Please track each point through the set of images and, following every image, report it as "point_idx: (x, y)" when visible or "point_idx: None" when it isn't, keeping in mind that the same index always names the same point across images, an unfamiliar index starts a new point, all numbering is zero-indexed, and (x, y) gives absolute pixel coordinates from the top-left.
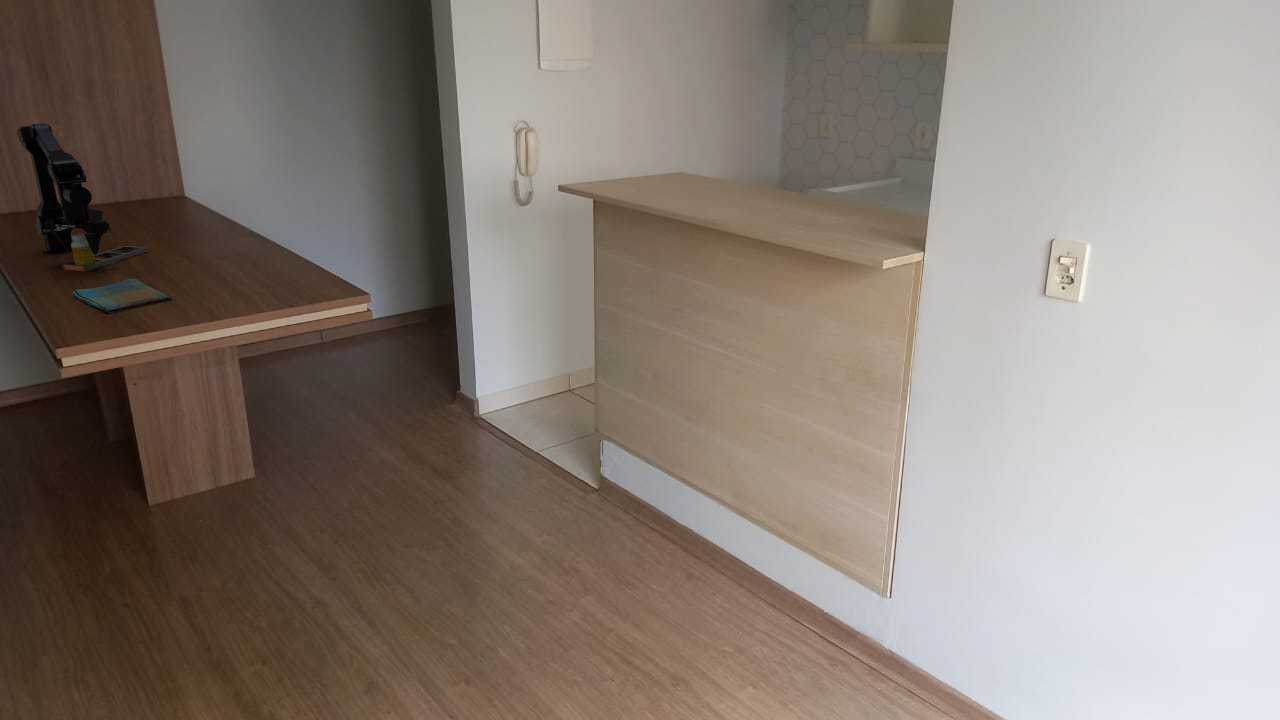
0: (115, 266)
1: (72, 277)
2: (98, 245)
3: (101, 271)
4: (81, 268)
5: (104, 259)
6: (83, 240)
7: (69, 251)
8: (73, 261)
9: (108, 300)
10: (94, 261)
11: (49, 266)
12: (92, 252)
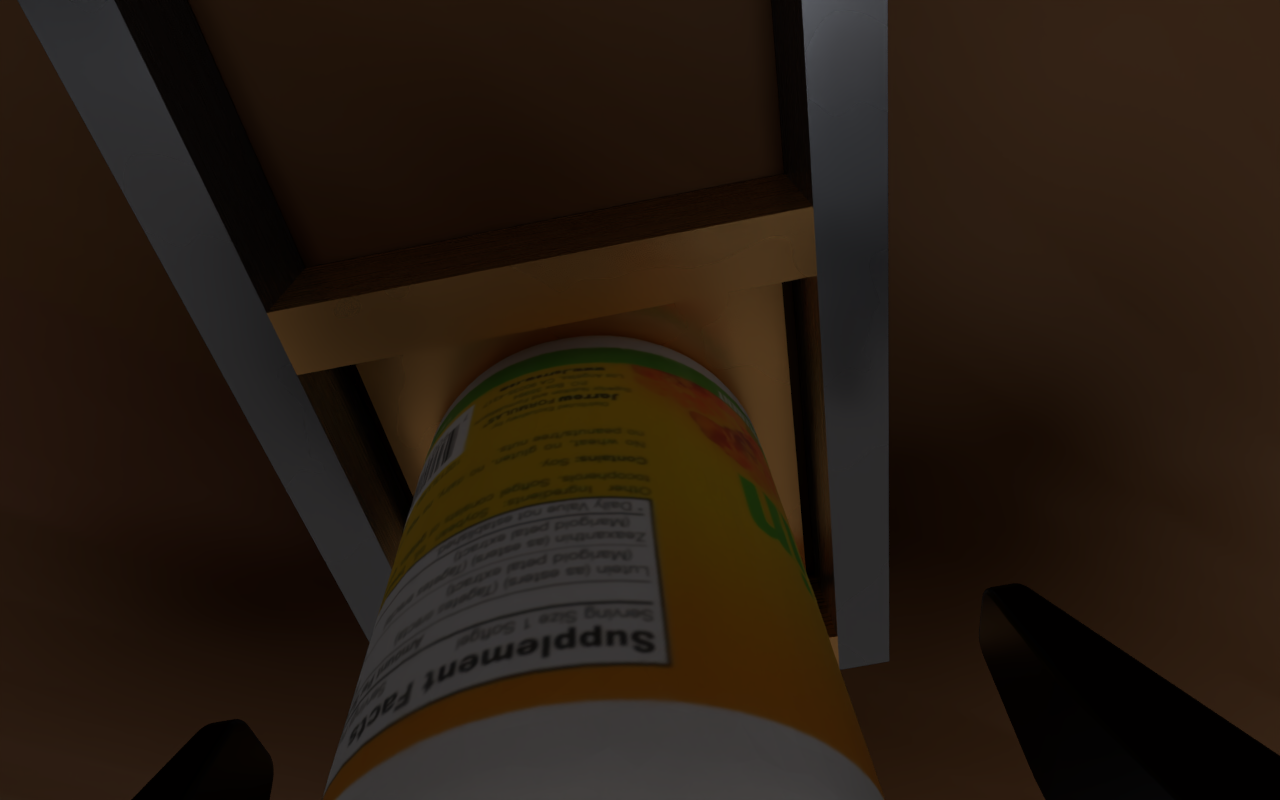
0: (1094, 200)
1: (912, 763)
2: (1265, 768)
3: (1074, 498)
4: None
5: (783, 228)
6: None
7: (266, 797)
8: (366, 596)
9: None
10: (760, 449)
11: (68, 681)
12: (810, 594)
